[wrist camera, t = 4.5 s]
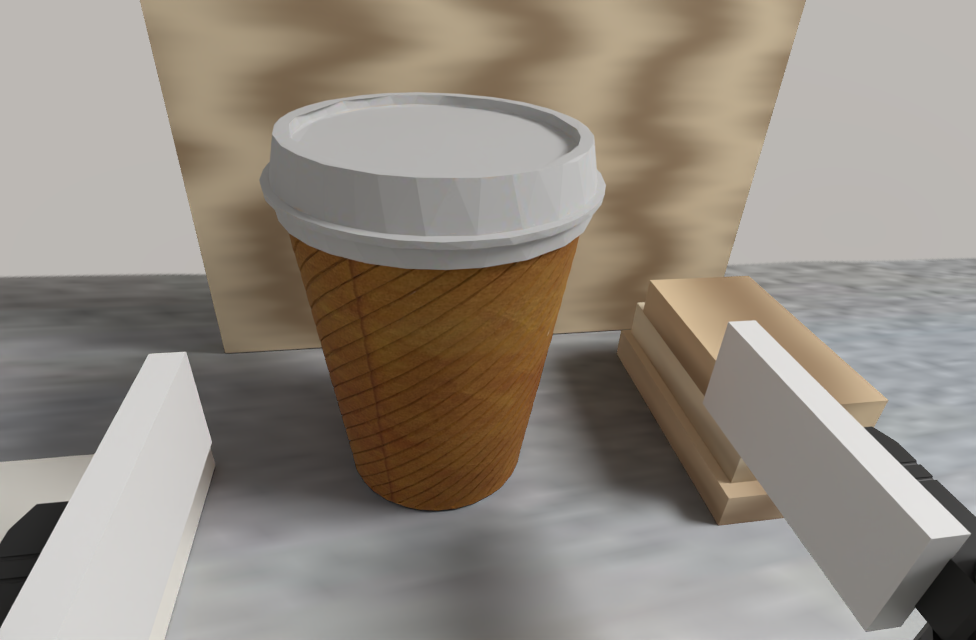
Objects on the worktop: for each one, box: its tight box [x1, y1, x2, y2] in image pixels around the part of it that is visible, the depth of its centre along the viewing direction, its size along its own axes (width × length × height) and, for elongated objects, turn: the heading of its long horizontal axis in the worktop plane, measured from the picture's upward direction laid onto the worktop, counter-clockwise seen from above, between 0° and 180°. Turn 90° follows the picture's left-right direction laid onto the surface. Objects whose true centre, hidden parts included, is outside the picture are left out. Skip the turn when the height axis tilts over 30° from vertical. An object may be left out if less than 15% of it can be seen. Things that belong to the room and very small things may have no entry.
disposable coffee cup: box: [259, 92, 606, 511], centre depth 19 cm, size 10×10×12 cm
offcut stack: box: [617, 276, 888, 526], centre depth 23 cm, size 6×10×5 cm, turn 9°
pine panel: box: [140, 0, 806, 353], centre depth 25 cm, size 25×2×17 cm, turn 100°
